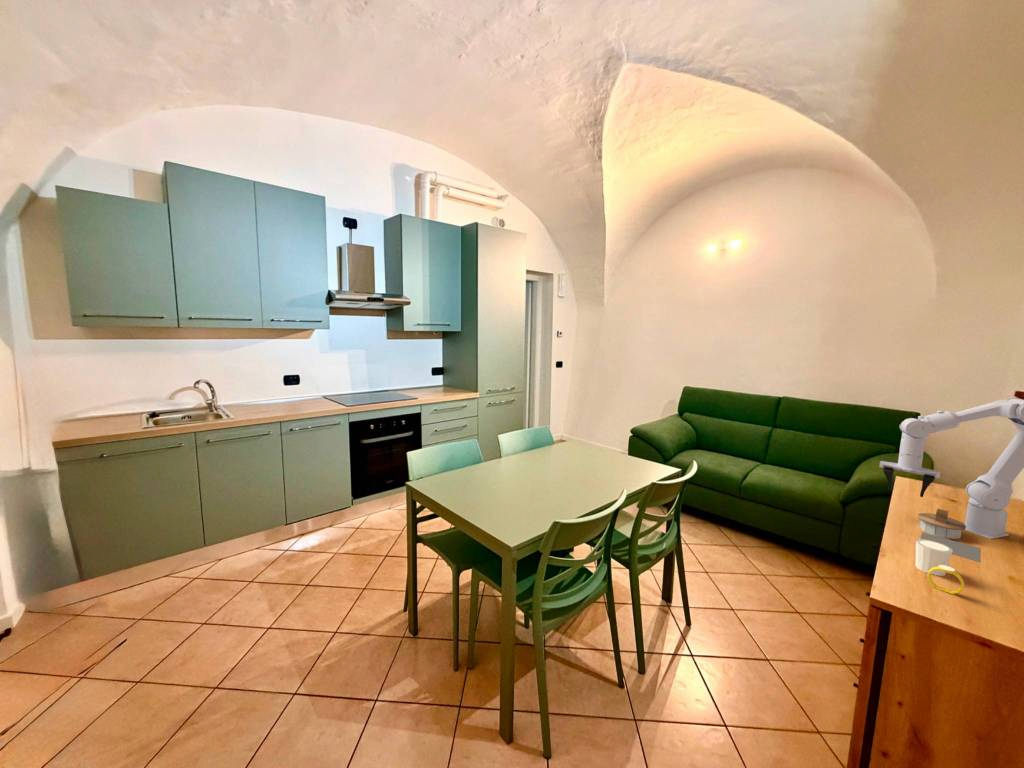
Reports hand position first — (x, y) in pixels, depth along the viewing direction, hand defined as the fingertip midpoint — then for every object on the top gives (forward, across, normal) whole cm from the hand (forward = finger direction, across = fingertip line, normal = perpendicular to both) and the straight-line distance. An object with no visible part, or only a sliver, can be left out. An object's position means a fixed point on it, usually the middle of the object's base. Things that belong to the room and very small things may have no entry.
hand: (905, 492), depth 136 cm
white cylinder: (+10, +9, -37) cm, 40 cm away
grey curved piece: (+9, +9, -4) cm, 14 cm away
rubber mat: (+9, +12, -15) cm, 21 cm away
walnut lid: (+6, +9, -4) cm, 12 cm away
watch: (+10, +12, -48) cm, 50 cm away
